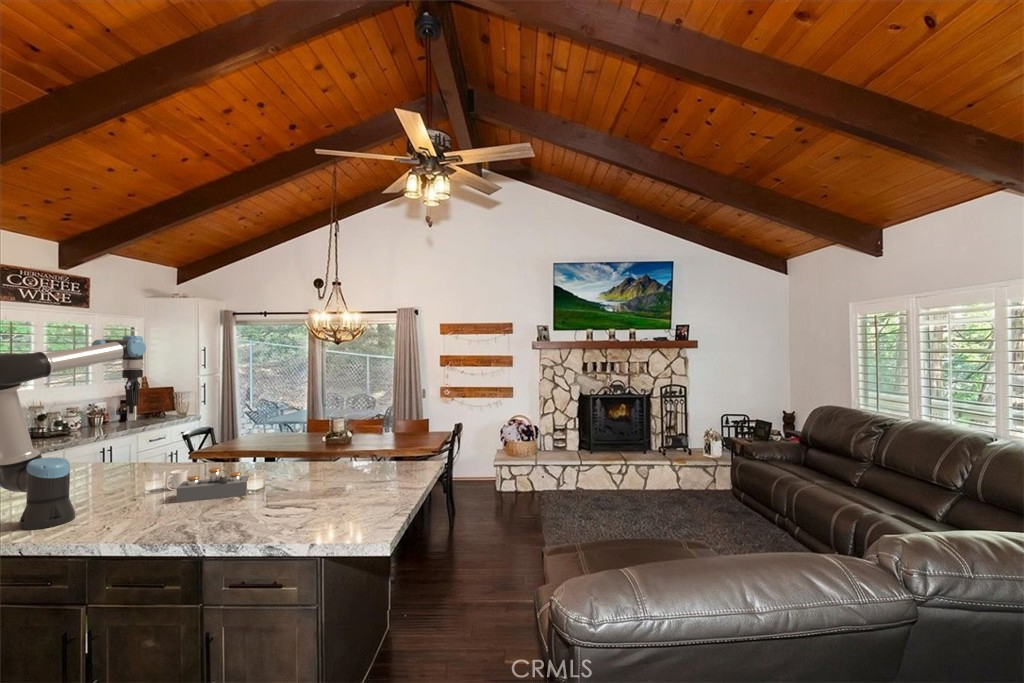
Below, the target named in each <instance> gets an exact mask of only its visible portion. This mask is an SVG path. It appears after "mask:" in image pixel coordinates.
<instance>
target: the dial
mask: <svg viewBox="0 0 1024 683" xmlns="http://www.w3.org/2000/svg"><path fill="white" fill-rule="evenodd" d="M227 478H228V475H220V484H226V483H227Z"/></svg>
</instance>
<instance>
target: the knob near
mask: <svg viewBox="0 0 1024 683" xmlns="http://www.w3.org/2000/svg"><path fill="white" fill-rule="evenodd" d="M200 478H201V476H200V475H192V476H187V478H186V481H188V485H199V480H200Z"/></svg>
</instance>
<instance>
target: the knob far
mask: <svg viewBox="0 0 1024 683" xmlns="http://www.w3.org/2000/svg"><path fill="white" fill-rule="evenodd" d="M240 476H242V472H241V471H237V472H230V473H229V477H230V482H232V481H240Z"/></svg>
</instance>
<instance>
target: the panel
mask: <svg viewBox="0 0 1024 683" xmlns="http://www.w3.org/2000/svg"><path fill="white" fill-rule="evenodd" d="M248 478H249V479H250V475H240V481H232V482H230V476H229V477H228V476H227V483H226V484H220V483H210V484H209V482H210V478H209V479H199V485H188V480H186V481H183V482H182V483H181V485H180V486H179V487H178V488H177V490H176V503H186V502H187V503H188V502H189V503H190V502H195V501H196V502H199V501H205V500H216V499H225V498H226V499H228V498H235V497H244V496H247V494H248V492H247V481H248Z"/></svg>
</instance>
